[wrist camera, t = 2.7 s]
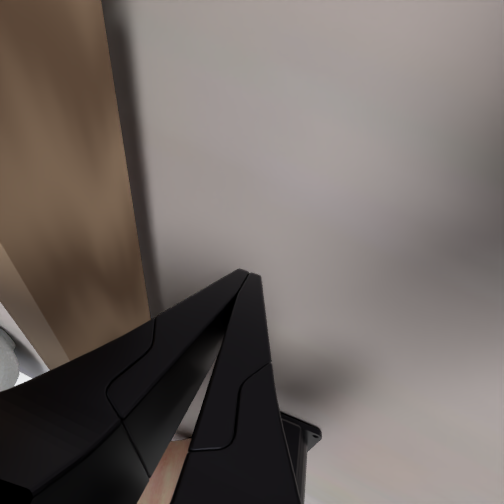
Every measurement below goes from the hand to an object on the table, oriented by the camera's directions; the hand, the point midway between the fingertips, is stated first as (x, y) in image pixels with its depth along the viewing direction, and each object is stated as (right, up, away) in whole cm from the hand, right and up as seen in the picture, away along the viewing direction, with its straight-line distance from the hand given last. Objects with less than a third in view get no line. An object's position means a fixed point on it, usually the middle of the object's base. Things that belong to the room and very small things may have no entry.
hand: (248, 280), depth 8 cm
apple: (-8, -25, +22) cm, 34 cm away
